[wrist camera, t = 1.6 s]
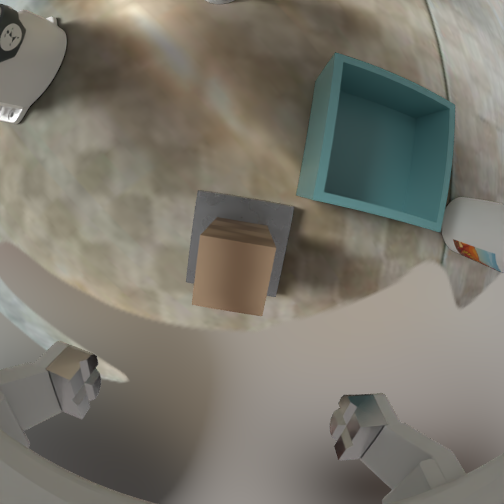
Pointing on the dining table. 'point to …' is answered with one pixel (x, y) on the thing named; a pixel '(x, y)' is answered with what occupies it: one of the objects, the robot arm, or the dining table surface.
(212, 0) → the chalice
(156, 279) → the dining table surface
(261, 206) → the gray square plate
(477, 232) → the milk bottle
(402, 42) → the dining table surface
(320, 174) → the bin
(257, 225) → the brown wooden block
